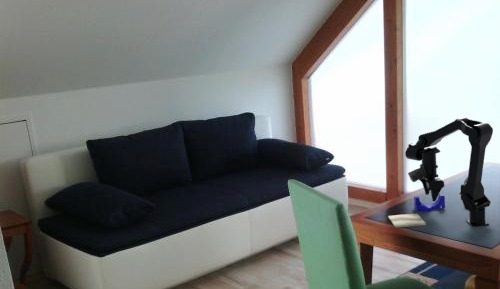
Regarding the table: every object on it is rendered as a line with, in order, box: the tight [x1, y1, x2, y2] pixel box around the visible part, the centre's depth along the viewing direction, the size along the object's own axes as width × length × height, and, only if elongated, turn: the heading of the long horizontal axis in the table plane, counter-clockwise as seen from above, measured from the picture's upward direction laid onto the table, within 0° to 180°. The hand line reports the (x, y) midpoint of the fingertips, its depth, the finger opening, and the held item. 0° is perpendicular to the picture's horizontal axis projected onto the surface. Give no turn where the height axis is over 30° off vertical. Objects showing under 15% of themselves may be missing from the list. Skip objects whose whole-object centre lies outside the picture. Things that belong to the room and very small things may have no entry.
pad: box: [387, 212, 427, 229], centre depth 210 cm, size 12×12×1 cm
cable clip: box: [413, 193, 446, 213], centre depth 219 cm, size 12×4×6 cm, turn 85°
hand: (430, 197), depth 218 cm, fingers open, 9 cm apart
